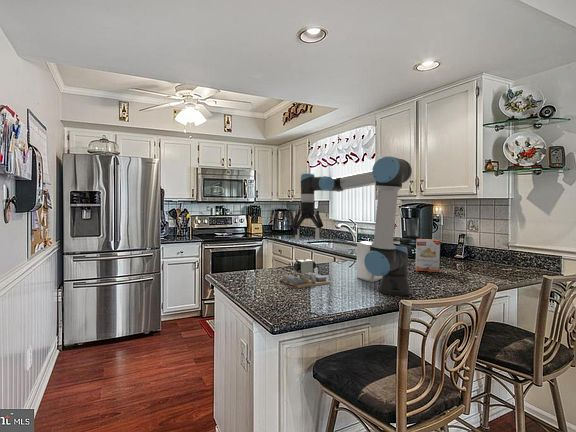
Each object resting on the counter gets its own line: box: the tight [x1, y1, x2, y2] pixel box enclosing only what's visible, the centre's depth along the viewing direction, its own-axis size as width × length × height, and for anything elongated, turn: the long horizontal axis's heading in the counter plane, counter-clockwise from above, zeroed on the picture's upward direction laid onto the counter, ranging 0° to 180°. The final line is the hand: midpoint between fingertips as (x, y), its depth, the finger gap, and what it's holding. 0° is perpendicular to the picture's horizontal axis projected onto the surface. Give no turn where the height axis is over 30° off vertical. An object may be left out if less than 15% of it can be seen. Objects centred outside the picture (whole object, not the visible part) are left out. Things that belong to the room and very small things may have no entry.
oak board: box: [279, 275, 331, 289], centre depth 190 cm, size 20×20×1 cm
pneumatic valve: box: [293, 257, 317, 281], centre depth 190 cm, size 6×12×12 cm, turn 118°
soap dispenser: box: [356, 240, 382, 283], centre depth 199 cm, size 15×14×22 cm
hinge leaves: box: [282, 269, 327, 284], centre depth 190 cm, size 20×19×5 cm
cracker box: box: [415, 238, 441, 273], centre depth 222 cm, size 14×6×21 cm, turn 73°
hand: (307, 240), depth 190 cm, fingers open, 13 cm apart
